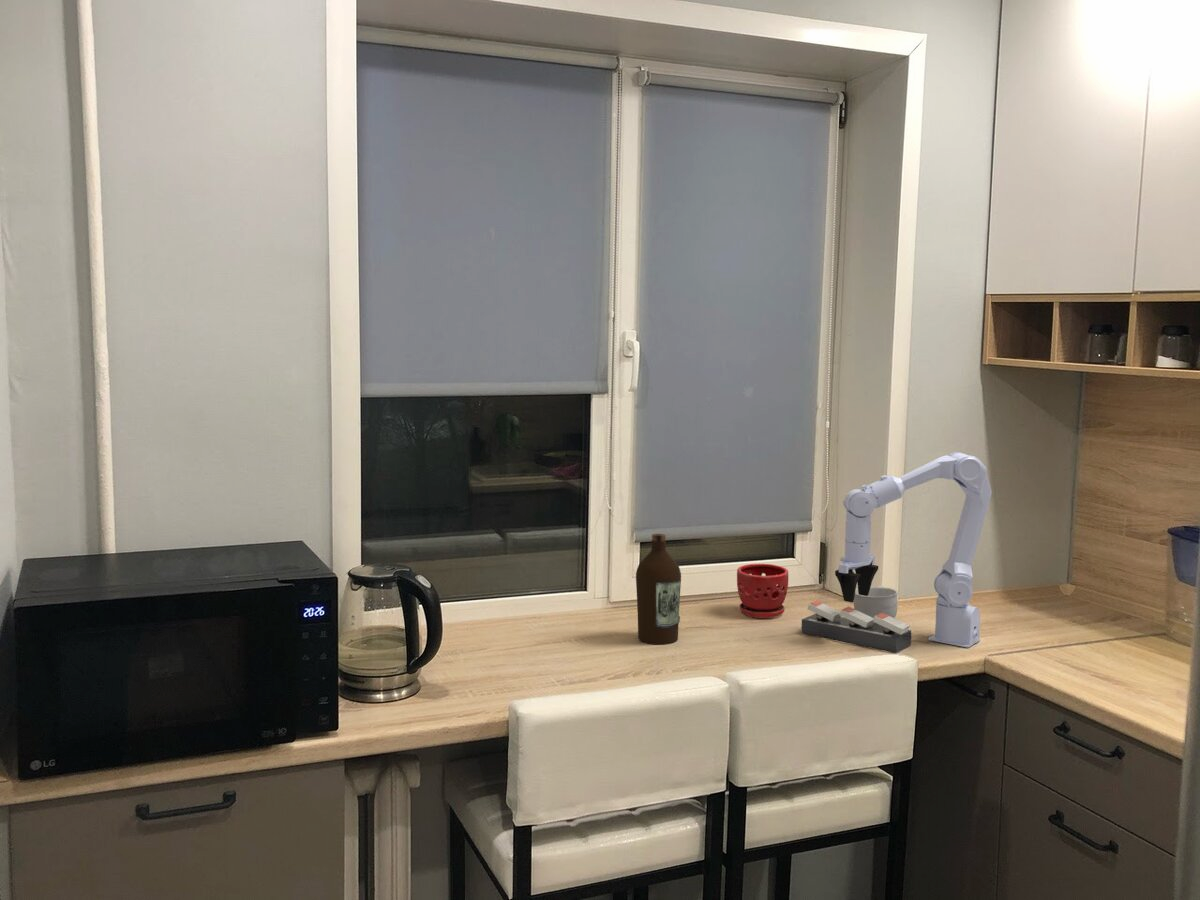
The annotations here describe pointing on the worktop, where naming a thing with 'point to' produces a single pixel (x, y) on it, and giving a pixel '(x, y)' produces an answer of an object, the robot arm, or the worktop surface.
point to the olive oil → (658, 595)
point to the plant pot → (762, 589)
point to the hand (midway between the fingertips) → (856, 598)
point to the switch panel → (856, 633)
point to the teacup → (877, 602)
